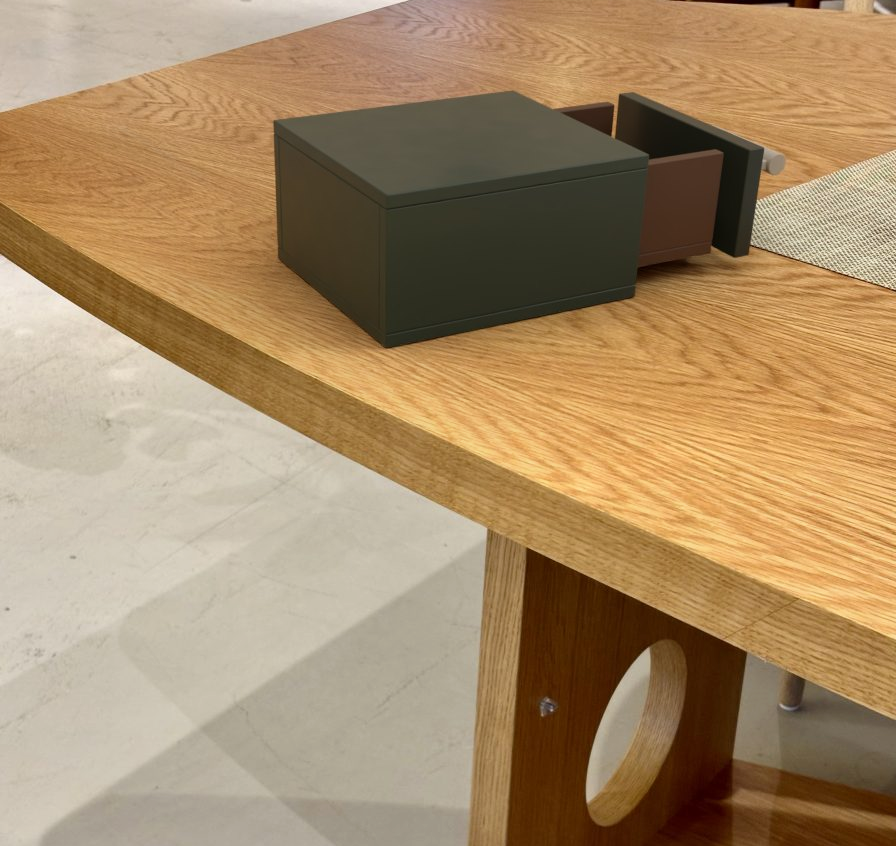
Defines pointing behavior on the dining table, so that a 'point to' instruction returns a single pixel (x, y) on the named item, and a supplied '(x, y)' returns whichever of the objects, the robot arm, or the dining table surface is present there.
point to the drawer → (687, 177)
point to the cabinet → (457, 213)
